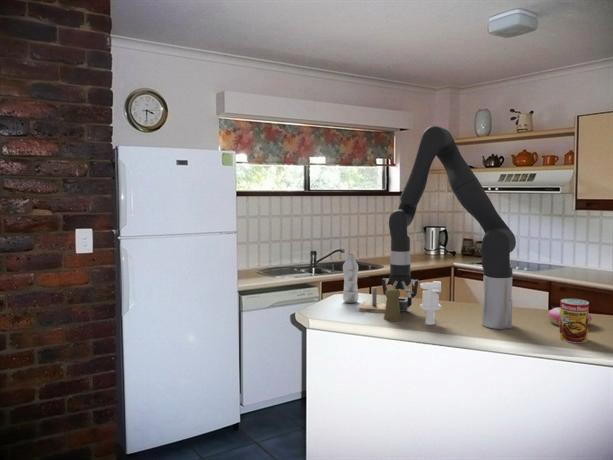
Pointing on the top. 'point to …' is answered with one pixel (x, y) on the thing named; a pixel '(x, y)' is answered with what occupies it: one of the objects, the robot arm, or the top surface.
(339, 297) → the top surface
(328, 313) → the top surface
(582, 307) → the canned food
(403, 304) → the grey hollow square block
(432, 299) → the strainer
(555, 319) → the donut
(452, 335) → the top surface
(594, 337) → the top surface
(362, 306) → the toggle switch
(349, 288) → the plastic bottle
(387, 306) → the cork
